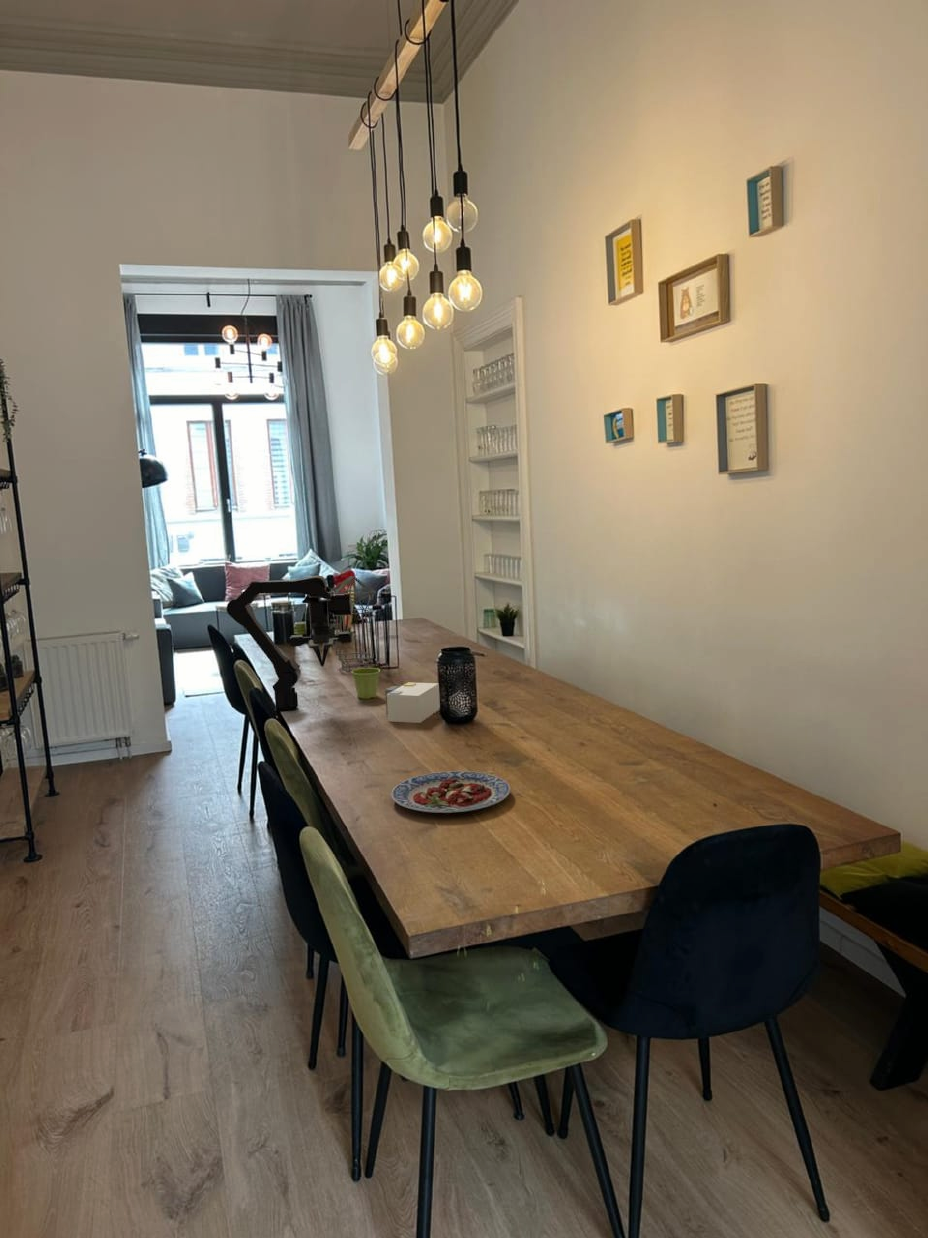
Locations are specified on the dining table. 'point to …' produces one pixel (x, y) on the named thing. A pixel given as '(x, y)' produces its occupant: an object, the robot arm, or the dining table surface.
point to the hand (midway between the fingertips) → (322, 666)
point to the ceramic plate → (450, 791)
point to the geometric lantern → (342, 584)
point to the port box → (413, 702)
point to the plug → (389, 692)
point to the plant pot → (366, 682)
